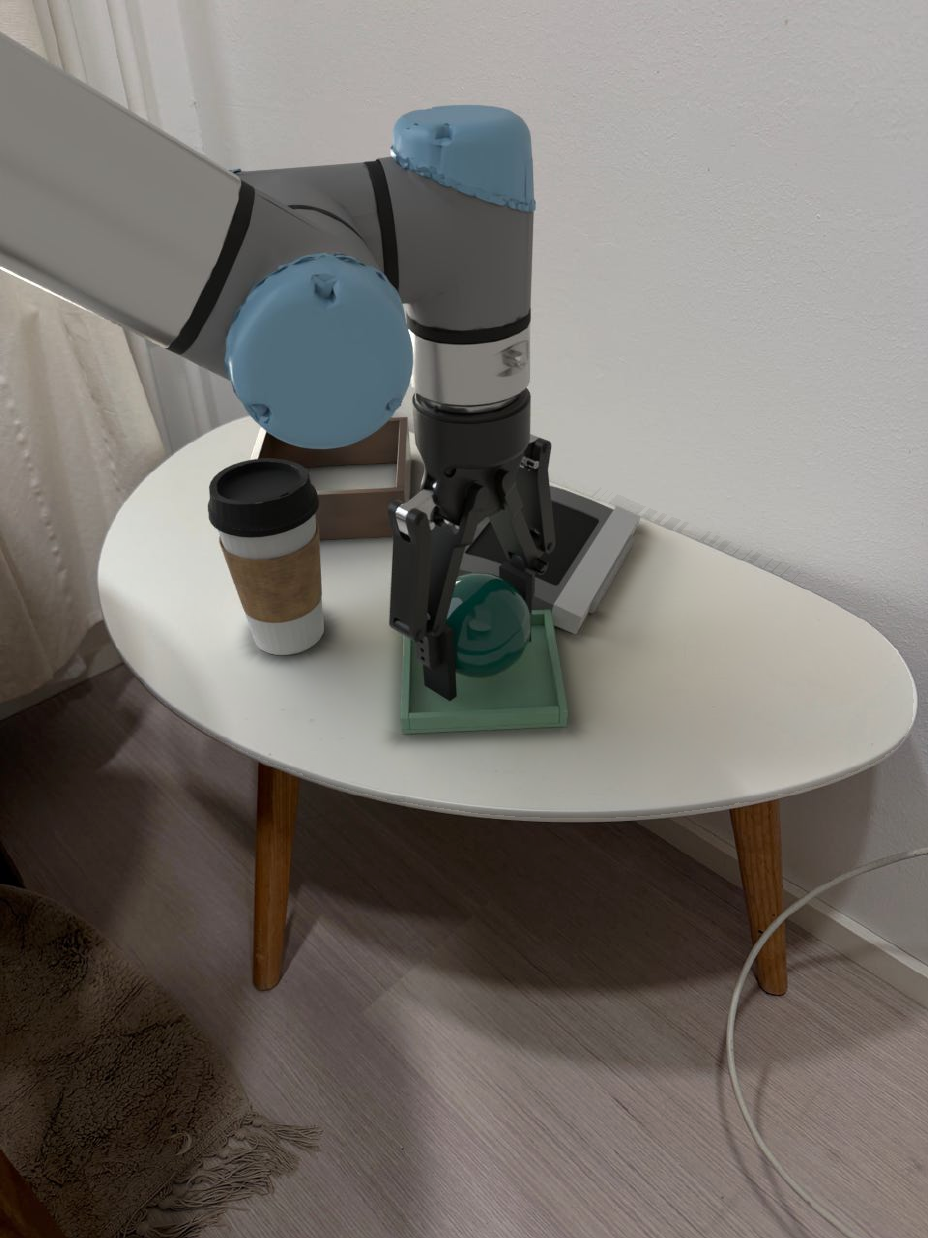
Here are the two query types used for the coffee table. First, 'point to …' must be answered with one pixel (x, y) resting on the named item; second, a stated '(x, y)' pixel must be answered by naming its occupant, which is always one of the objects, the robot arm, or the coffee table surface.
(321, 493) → the box
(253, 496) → the coffee cup
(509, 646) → the sphere
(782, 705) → the coffee table surface
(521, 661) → the tray
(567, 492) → the alarm clock
